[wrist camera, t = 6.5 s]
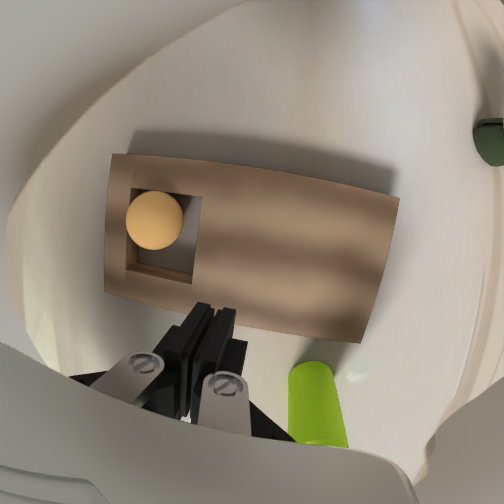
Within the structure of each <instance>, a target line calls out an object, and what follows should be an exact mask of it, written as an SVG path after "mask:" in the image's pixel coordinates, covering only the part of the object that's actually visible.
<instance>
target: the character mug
mask: <svg viewBox="0 0 504 504" xmlns="http://www.w3.org/2000/svg"><path fill="white" fill-rule="evenodd" d="M479 123H484V124H483V125H482V126H481V128H475V129H474V141H475V145H476V148H477V151H478V153H479V154H480V155H481V157H482V158H483V160H484V161H485V162H487V163H488V164H489V165H490V166H496V167H497V166H503V165H504V118H489V119H482V120H480V121H478V122H477V124H479Z"/></svg>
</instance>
